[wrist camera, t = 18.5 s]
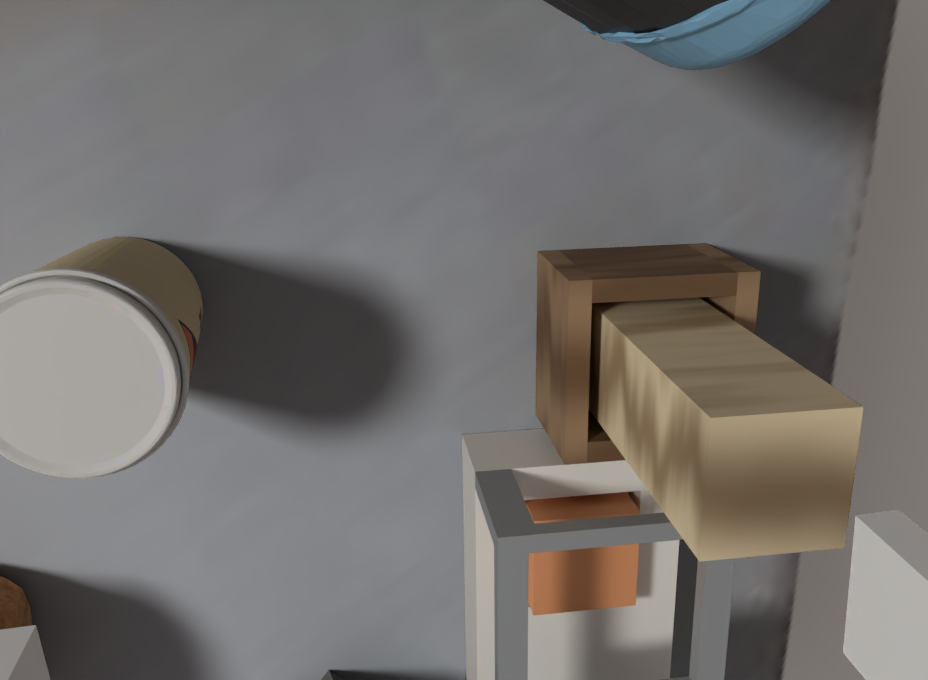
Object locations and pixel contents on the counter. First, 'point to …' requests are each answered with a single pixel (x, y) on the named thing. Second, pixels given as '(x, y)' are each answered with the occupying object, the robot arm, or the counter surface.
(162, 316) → the coffee cup
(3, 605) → the bread
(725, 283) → the holder
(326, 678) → the electrical switch
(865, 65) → the counter surface
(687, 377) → the tan wooden block
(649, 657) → the grey frame
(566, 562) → the orange cube
